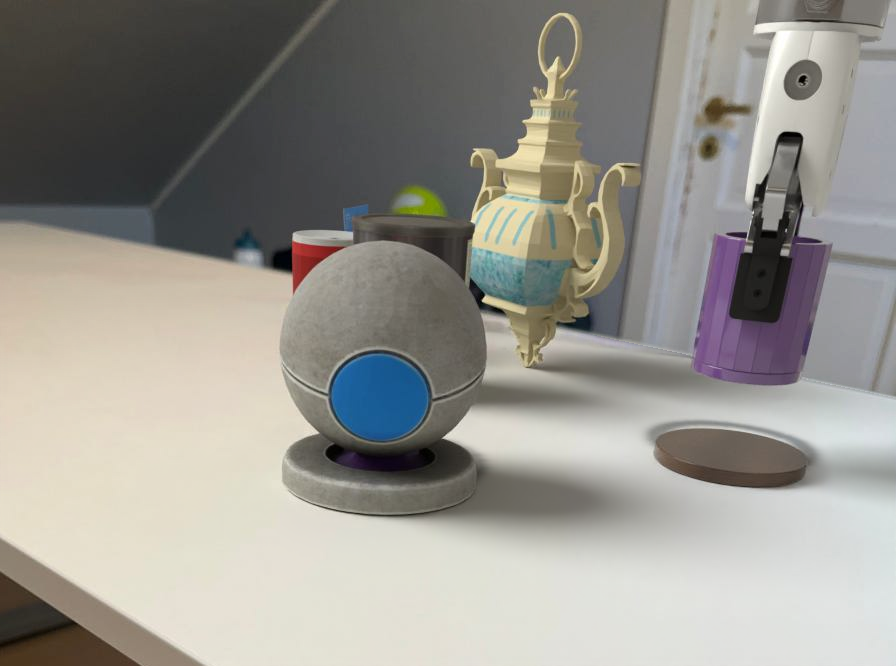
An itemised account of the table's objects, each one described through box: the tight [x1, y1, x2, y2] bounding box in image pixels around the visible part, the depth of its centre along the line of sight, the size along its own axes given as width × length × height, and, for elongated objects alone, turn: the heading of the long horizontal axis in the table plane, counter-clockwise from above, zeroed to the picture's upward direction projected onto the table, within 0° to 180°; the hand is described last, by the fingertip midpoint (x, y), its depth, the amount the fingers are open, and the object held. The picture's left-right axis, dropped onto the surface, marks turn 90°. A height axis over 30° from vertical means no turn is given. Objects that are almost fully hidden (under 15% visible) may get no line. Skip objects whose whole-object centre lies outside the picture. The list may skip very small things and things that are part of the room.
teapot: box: [469, 12, 642, 368], centre depth 90 cm, size 24×12×30 cm, turn 29°
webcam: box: [278, 241, 488, 516], centre depth 62 cm, size 13×13×15 cm
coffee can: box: [351, 212, 475, 289], centre depth 84 cm, size 10×10×14 cm
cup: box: [690, 230, 834, 387], centre depth 67 cm, size 8×8×9 cm
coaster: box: [653, 427, 809, 488], centre depth 72 cm, size 11×11×1 cm
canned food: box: [291, 229, 353, 296], centre depth 98 cm, size 8×8×11 cm
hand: (758, 309), depth 67 cm, fingers closed on cup, 7 cm apart
